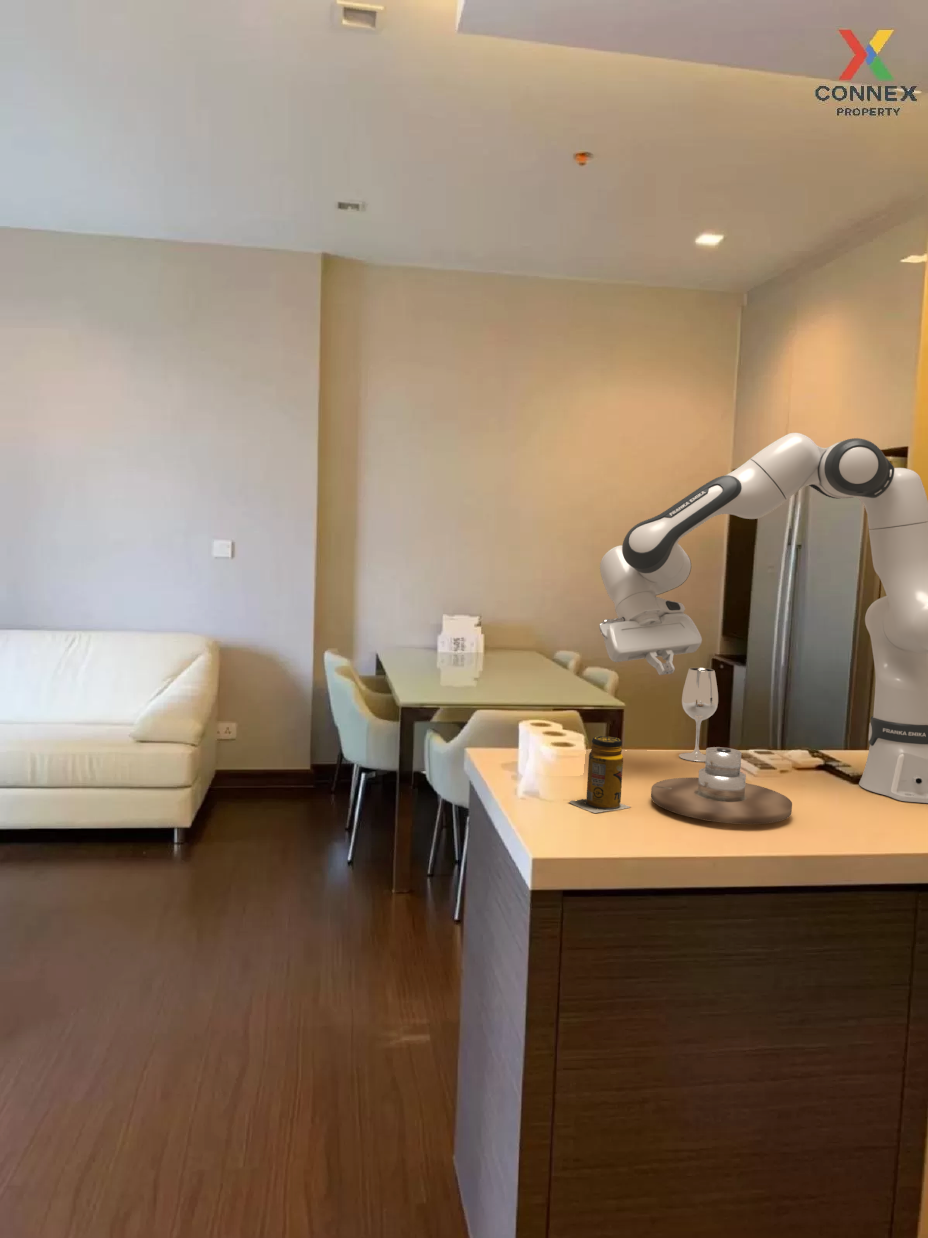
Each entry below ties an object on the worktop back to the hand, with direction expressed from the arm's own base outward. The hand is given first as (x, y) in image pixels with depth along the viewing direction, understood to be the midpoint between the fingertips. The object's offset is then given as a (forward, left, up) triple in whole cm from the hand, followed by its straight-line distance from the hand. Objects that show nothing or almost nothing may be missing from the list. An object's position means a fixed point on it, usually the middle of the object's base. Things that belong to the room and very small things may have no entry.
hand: (667, 672), depth 173 cm
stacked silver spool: (-12, +15, -19) cm, 27 cm away
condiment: (+8, +23, -22) cm, 33 cm away
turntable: (-12, +15, -21) cm, 28 cm away
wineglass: (-4, -25, -22) cm, 34 cm away
